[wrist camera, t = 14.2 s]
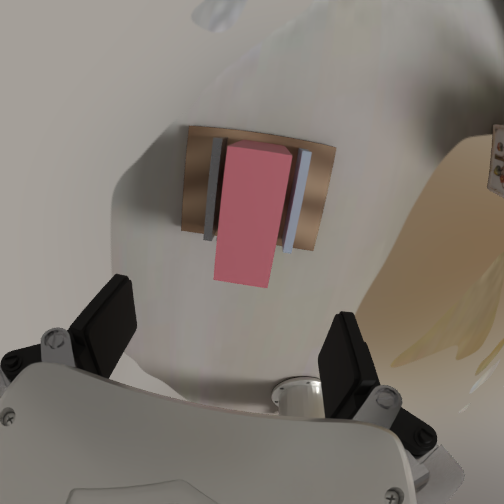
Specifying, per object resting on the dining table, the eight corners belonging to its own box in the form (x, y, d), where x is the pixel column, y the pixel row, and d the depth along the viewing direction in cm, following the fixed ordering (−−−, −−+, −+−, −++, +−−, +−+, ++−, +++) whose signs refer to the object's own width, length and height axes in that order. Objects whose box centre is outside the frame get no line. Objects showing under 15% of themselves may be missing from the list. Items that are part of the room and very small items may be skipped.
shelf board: (311, 246, 38) (313, 250, 36) (184, 226, 38) (181, 230, 36) (333, 146, 31) (336, 147, 30) (192, 125, 31) (189, 125, 30)
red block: (268, 237, 36) (267, 288, 25) (231, 231, 36) (213, 279, 25) (284, 145, 30) (292, 155, 20) (243, 139, 30) (227, 146, 20)
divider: (289, 240, 36) (291, 253, 32) (281, 238, 36) (282, 252, 32) (307, 149, 30) (311, 152, 27) (298, 147, 30) (302, 150, 27)
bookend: (217, 228, 36) (211, 241, 32) (210, 227, 36) (203, 239, 32) (228, 137, 30) (222, 138, 27) (220, 136, 30) (213, 137, 27)
